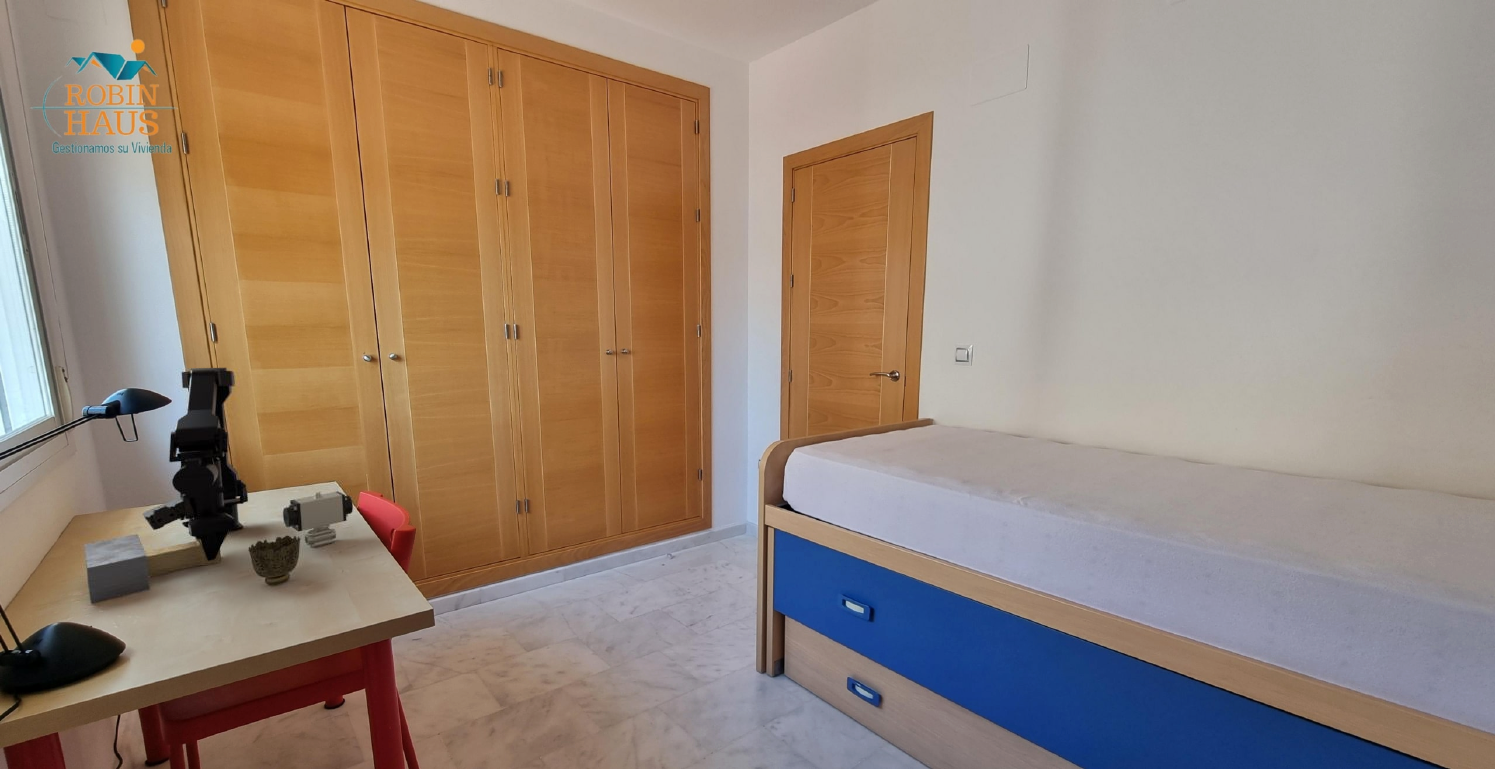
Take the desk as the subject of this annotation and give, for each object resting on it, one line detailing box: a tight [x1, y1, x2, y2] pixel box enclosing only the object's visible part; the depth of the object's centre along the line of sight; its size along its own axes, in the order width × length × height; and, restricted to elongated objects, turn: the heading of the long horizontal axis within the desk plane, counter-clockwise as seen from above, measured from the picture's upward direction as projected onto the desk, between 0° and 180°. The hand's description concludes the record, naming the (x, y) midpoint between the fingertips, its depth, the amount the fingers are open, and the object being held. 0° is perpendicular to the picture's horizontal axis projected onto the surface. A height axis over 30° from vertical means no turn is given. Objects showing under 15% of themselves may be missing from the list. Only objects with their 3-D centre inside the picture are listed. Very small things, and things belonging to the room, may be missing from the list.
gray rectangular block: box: [83, 533, 151, 605], centre depth 103 cm, size 7×18×6 cm, turn 52°
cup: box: [248, 534, 301, 586], centre depth 103 cm, size 8×7×8 cm
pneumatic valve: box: [282, 491, 354, 548], centre depth 123 cm, size 6×12×12 cm, turn 144°
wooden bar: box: [145, 537, 222, 577], centre depth 109 cm, size 15×5×5 cm, turn 142°
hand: (209, 556), depth 113 cm, fingers closed on wooden bar, 5 cm apart
